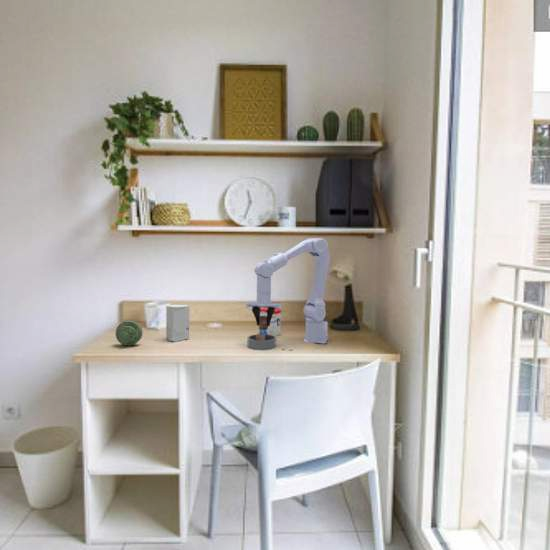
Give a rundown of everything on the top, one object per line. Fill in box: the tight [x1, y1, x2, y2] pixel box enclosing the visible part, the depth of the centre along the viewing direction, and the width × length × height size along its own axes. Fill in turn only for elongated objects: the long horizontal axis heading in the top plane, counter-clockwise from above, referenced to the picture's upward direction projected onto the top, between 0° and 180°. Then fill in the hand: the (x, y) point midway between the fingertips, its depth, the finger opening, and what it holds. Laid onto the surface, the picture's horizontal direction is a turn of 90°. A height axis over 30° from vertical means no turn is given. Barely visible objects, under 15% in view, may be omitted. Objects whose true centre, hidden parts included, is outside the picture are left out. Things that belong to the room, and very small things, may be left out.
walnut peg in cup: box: [255, 333, 265, 341], centre depth 164 cm, size 4×4×5 cm
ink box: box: [259, 301, 282, 337], centre depth 189 cm, size 8×5×15 cm, turn 62°
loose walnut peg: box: [258, 316, 268, 331], centre depth 168 cm, size 4×4×5 cm
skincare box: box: [165, 304, 190, 343], centre depth 177 cm, size 8×6×15 cm
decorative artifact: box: [115, 319, 143, 346], centre depth 165 cm, size 10×7×10 cm
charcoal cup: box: [246, 333, 277, 351], centre depth 167 cm, size 11×11×4 cm
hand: (263, 325), depth 168 cm, fingers closed on loose walnut peg, 4 cm apart
